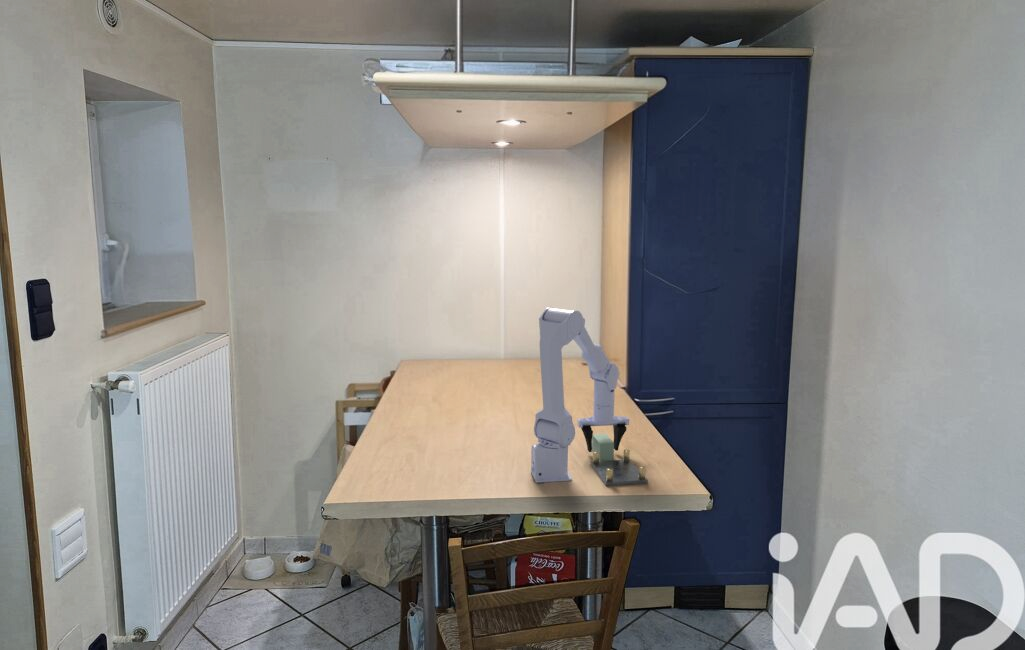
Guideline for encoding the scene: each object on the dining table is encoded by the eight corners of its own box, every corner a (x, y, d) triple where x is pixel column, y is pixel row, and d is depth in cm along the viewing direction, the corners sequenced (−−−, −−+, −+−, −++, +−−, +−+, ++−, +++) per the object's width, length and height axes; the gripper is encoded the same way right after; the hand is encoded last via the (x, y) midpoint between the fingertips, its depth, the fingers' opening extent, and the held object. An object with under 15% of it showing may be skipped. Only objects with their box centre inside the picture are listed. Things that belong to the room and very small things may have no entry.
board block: (599, 460, 194) (600, 443, 193) (591, 450, 201) (592, 434, 201) (613, 460, 194) (614, 442, 193) (605, 450, 202) (605, 433, 201)
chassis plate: (605, 486, 176) (606, 471, 175) (590, 465, 190) (590, 451, 189) (647, 483, 177) (648, 468, 177) (629, 462, 192) (629, 449, 191)
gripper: (624, 398, 200) (622, 444, 203) (575, 400, 198) (574, 446, 200) (632, 405, 193) (630, 452, 196) (581, 407, 191) (580, 455, 193)
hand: (602, 450), depth 198 cm, fingers open, 7 cm apart
